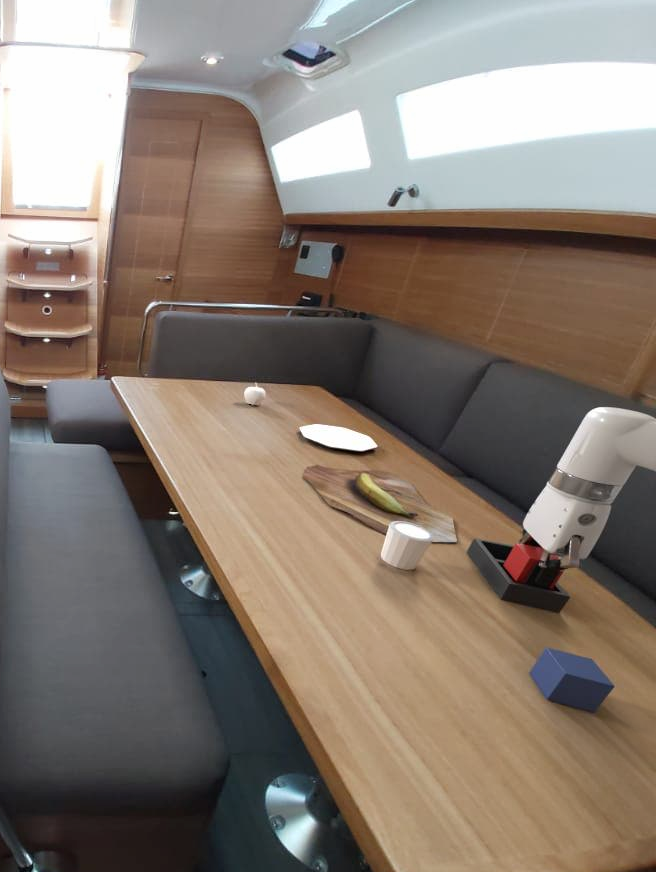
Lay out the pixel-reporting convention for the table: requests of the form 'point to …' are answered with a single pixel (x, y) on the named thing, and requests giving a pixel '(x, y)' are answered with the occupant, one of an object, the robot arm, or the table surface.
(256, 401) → the plain white apple
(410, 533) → the white cup
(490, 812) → the table surface
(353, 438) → the plate
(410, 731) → the table surface
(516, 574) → the red block
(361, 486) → the cutting board
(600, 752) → the table surface
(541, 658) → the blue block
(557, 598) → the tray
